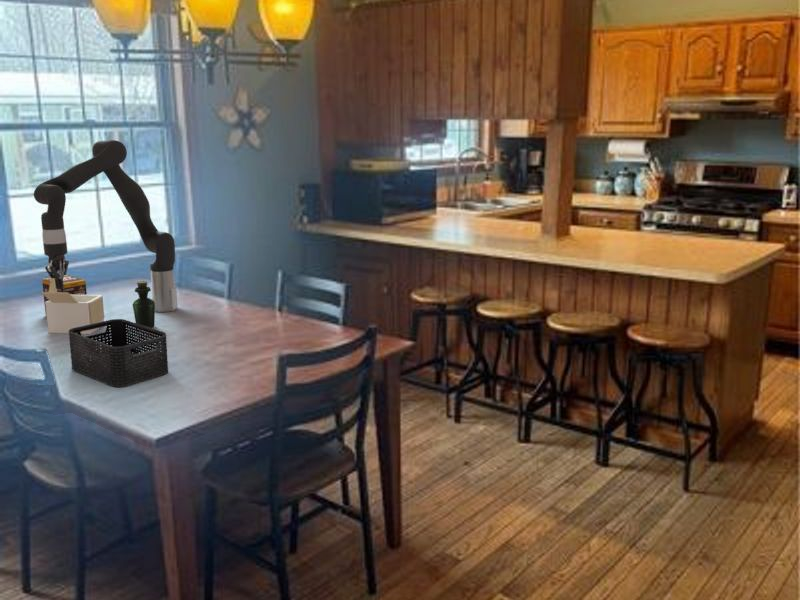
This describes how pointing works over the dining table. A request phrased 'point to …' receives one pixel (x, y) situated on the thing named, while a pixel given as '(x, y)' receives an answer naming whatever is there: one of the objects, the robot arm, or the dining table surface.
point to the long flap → (59, 297)
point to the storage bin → (119, 353)
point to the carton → (75, 314)
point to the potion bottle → (144, 306)
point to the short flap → (52, 286)
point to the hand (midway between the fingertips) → (59, 288)
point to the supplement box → (67, 286)
